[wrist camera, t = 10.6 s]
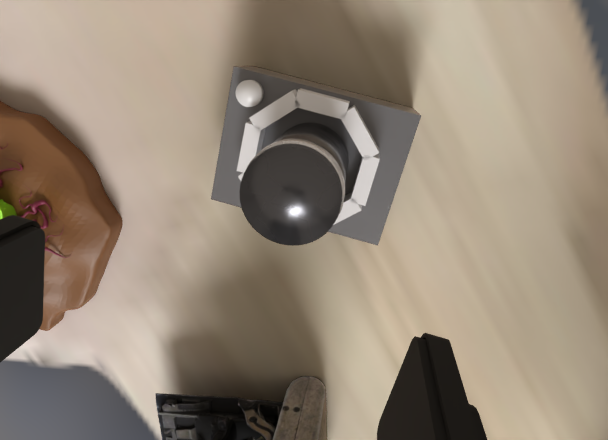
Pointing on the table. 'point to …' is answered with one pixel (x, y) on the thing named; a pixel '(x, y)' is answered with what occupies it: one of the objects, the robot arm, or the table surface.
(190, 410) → the vintage camera
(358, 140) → the grey hollow block
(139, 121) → the table surface
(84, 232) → the plant
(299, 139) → the lens
